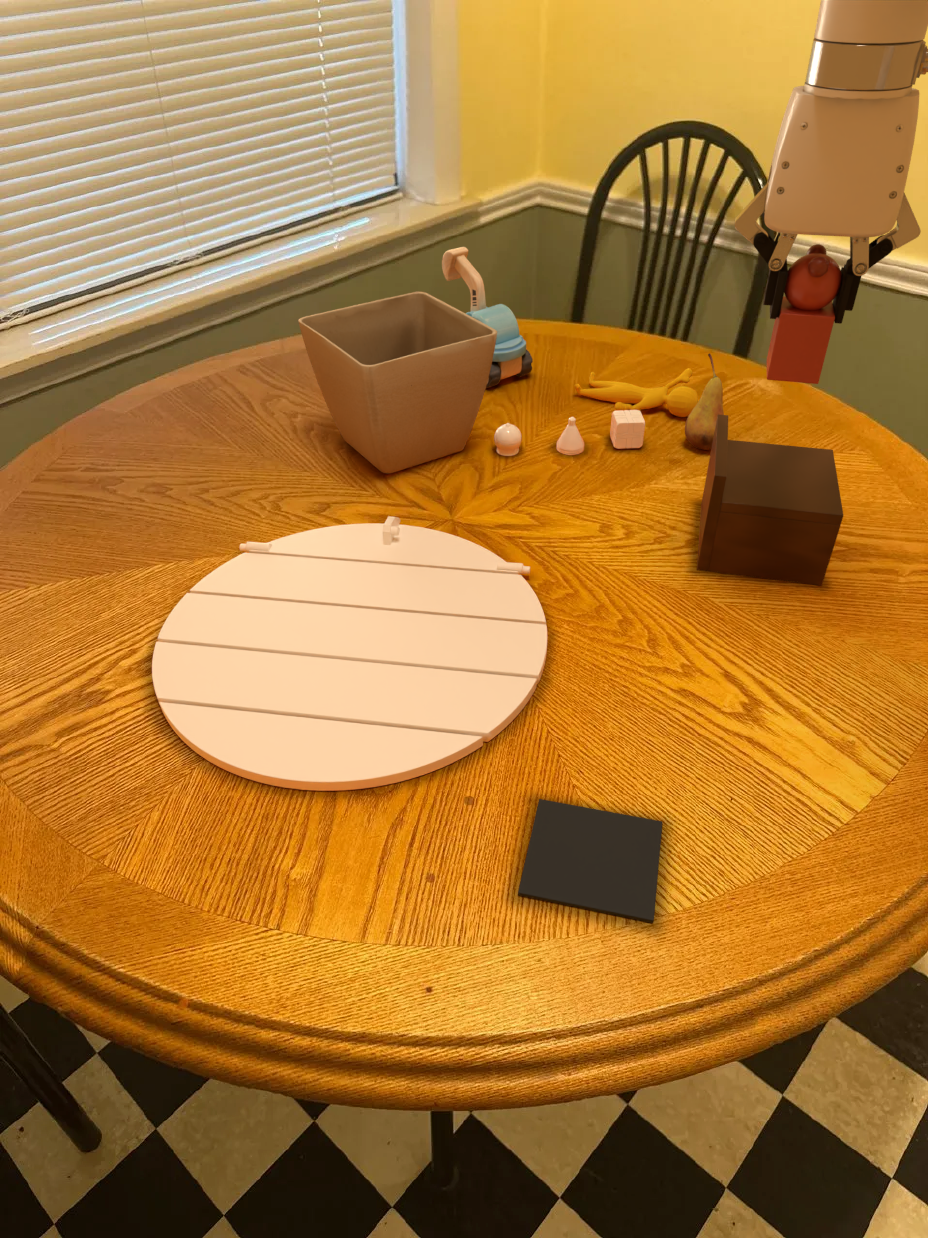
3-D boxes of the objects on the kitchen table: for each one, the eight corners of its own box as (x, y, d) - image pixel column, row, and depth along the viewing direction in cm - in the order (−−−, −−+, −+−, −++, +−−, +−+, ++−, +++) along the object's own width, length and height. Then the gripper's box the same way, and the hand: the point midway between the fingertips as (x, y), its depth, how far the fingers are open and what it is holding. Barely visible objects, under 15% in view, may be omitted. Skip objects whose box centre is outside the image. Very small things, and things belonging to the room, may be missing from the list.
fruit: (676, 451, 116) (689, 365, 108) (688, 433, 120) (702, 349, 112) (717, 460, 114) (733, 373, 106) (728, 441, 118) (745, 356, 110)
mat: (662, 824, 69) (662, 821, 69) (653, 923, 62) (653, 920, 62) (539, 801, 71) (539, 798, 71) (517, 895, 64) (517, 892, 64)
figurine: (602, 355, 133) (715, 369, 125) (602, 384, 136) (713, 399, 127) (560, 388, 125) (678, 405, 116) (561, 417, 128) (676, 437, 119)
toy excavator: (475, 345, 145) (474, 238, 134) (536, 379, 134) (540, 266, 124) (433, 358, 142) (428, 249, 131) (492, 393, 131) (492, 278, 120)
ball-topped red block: (816, 363, 80) (846, 243, 73) (819, 385, 76) (851, 261, 69) (765, 359, 81) (790, 240, 74) (765, 381, 77) (791, 257, 70)
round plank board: (242, 516, 106) (237, 492, 103) (561, 540, 100) (563, 515, 98) (79, 763, 75) (66, 736, 73) (524, 816, 70) (525, 789, 68)
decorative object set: (643, 452, 116) (646, 421, 113) (494, 457, 116) (495, 427, 113) (636, 436, 119) (640, 406, 117) (492, 441, 119) (492, 411, 116)
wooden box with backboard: (814, 516, 103) (839, 425, 95) (821, 586, 93) (851, 489, 85) (701, 504, 106) (717, 414, 98) (696, 570, 95) (714, 475, 88)
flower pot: (427, 402, 129) (421, 287, 118) (500, 452, 117) (501, 330, 106) (312, 436, 121) (294, 318, 110) (376, 495, 109) (364, 367, 98)
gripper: (976, 62, 64) (903, 307, 76) (743, 60, 68) (707, 294, 80) (997, 77, 59) (914, 339, 70) (741, 74, 62) (703, 324, 74)
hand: (805, 313), depth 75 cm, fingers closed on ball-topped red block, 4 cm apart
